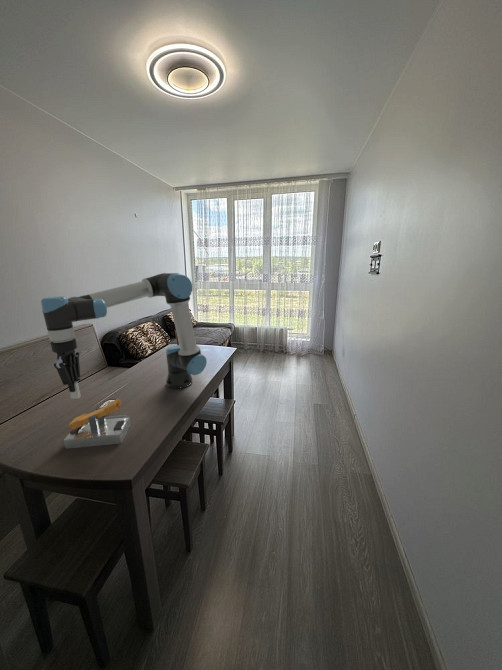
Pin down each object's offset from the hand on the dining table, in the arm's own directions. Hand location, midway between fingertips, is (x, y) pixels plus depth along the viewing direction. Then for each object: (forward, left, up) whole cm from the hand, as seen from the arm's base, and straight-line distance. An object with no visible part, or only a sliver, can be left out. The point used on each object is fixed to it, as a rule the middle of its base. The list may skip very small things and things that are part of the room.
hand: (76, 397), depth 98 cm
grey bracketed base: (-6, 0, -18) cm, 19 cm away
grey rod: (-6, -11, -18) cm, 22 cm away
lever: (-6, 0, -8) cm, 10 cm away
